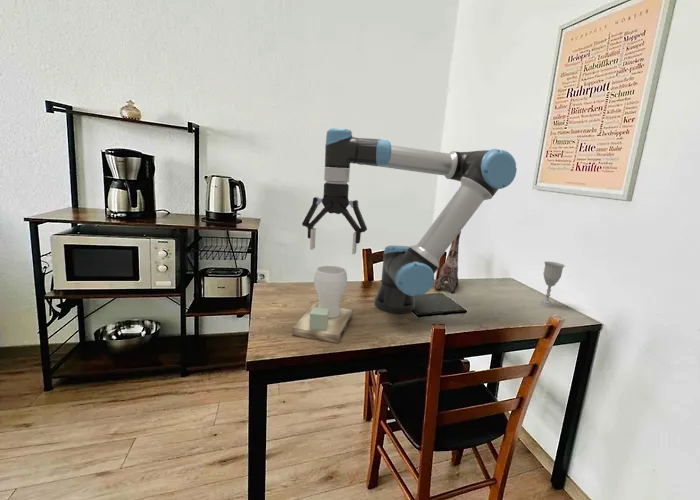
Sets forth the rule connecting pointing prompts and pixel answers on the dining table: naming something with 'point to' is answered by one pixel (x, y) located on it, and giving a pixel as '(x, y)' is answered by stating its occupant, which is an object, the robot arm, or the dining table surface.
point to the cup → (330, 287)
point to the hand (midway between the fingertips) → (333, 251)
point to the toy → (450, 267)
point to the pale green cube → (319, 319)
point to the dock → (333, 328)
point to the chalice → (551, 279)
